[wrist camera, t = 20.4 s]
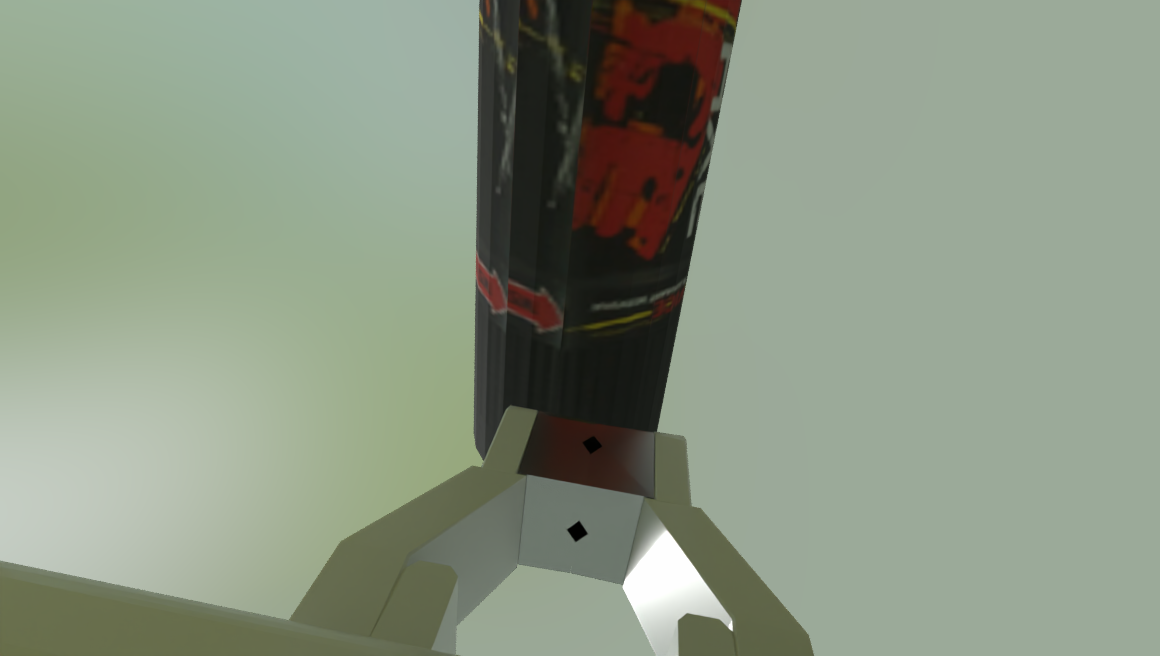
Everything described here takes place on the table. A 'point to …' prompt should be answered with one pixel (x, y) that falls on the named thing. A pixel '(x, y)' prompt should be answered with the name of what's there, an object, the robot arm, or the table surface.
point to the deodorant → (589, 199)
